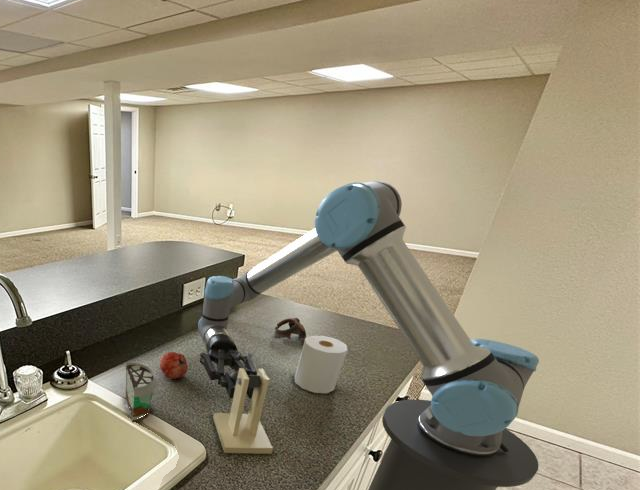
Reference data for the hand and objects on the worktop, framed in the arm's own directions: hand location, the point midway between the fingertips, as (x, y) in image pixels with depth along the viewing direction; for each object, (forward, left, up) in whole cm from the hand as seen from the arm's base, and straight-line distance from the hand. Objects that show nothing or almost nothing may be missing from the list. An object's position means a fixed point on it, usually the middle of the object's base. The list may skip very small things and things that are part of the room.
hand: (242, 393), depth 89 cm
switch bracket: (-3, +3, -8) cm, 9 cm away
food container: (+19, +11, -8) cm, 24 cm away
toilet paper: (-7, -31, -8) cm, 33 cm away
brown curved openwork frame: (+9, -54, -8) cm, 55 cm away
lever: (0, 0, +2) cm, 2 cm away
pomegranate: (+23, -7, -8) cm, 25 cm away
